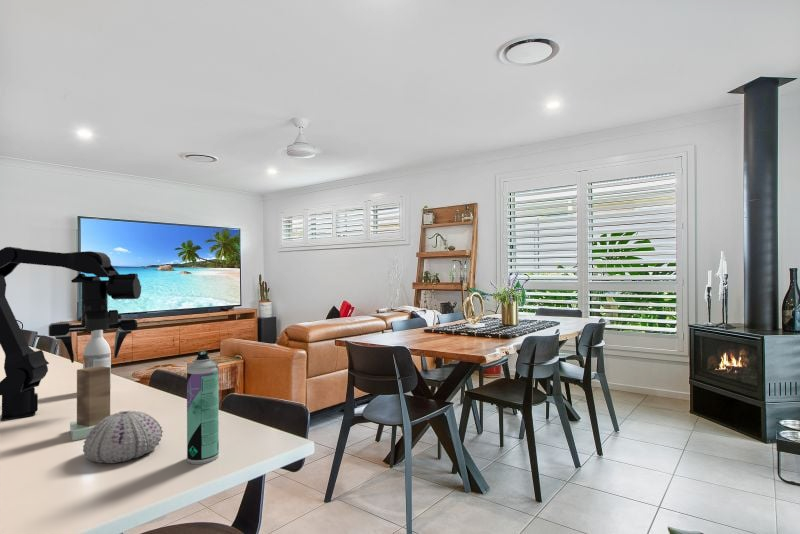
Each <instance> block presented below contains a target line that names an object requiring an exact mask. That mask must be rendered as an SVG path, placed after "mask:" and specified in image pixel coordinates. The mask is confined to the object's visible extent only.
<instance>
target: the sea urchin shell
mask: <svg viewBox="0 0 800 534" xmlns="http://www.w3.org/2000/svg"><path fill="white" fill-rule="evenodd" d="M162 428H163V427H162V425H161V424H160V423H159V422H158V421H157V420H156V418H154V417H152V415H150V414H148V413H146V412H143V411H135V410H124V411H119V412H116V413H113V414H110V416H108V417H106V418H104V419H103V420H101V421H100V422H99V423H98V424H96V426H95V427H94V428H93V429H92V430H91V431H90V433H89V435H87V438H85V440H84V441H83V446H82V448H83V449H82V452H83V454H84V455H83V456H85V458H86V459H89V461H91V462H94V463H95V462H96V463H98V464H99V463H100V464H106V463H107V464H117V463H119V462H121V463H123V462H126V461H130V460H131V459H137V458H139V457H142V456H143V455H146V454H149V453H150V452H152V451H153V450H155V448H156V447H157V446H159V445H160V442H161V440H162V437H163V433H164V430H163V429H162Z"/></svg>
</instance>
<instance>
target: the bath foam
mask: <svg viewBox="0 0 800 534" xmlns="http://www.w3.org/2000/svg"><path fill="white" fill-rule="evenodd" d="M90 332H91V333H90V336H91V337H90V339H89V340H88V342H87V343H86V344H85V346H84V349H83V352H82V369H84V368H89V367H95V366H102V367H110V390H112V389H111V387H112V386H111V385H112V384H111V383H112V380H111V378H112V377H111V375H112V374H111V372H112V371H111V368H112V367H111V366H112V364H111V363H112V359H111V357H112V356H111V354H112V352H111V347H110V345H109V343H108V342H107V341H106V339H105V338H104V330H94V331H90Z"/></svg>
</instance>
